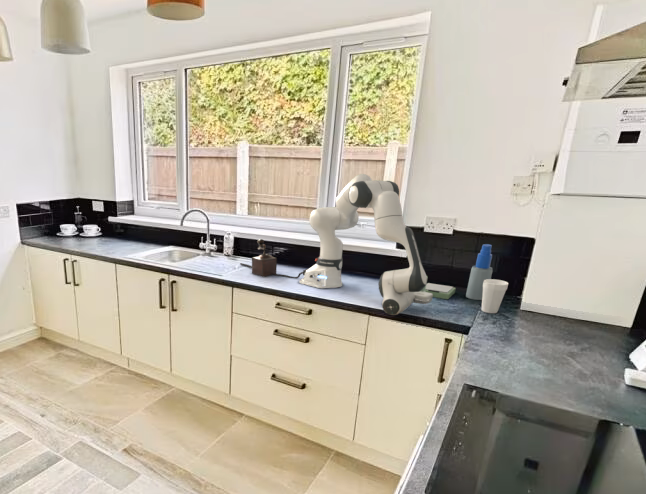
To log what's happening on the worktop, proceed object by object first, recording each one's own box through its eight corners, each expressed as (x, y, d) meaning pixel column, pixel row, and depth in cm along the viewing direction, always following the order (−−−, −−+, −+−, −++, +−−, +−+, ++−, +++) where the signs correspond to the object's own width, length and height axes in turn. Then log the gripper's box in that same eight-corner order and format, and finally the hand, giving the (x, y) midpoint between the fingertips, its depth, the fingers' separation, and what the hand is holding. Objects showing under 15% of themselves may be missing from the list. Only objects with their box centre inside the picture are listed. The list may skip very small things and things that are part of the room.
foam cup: (499, 308, 203) (506, 280, 198) (503, 315, 195) (510, 285, 190) (476, 306, 206) (482, 278, 200) (478, 312, 198) (485, 283, 192)
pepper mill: (277, 274, 259) (279, 242, 252) (262, 277, 253) (263, 244, 246) (260, 269, 270) (261, 238, 263) (245, 271, 264) (246, 240, 257)
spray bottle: (469, 293, 225) (480, 242, 215) (488, 297, 219) (500, 244, 209) (463, 297, 219) (473, 244, 209) (482, 301, 213) (494, 247, 203)
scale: (417, 294, 223) (418, 288, 222) (425, 288, 234) (426, 282, 232) (447, 299, 216) (448, 293, 214) (454, 292, 226) (456, 286, 225)
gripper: (429, 295, 190) (438, 287, 201) (381, 287, 201) (392, 280, 212) (426, 309, 193) (435, 301, 203) (379, 300, 204) (390, 293, 214)
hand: (413, 290), depth 207 cm, fingers open, 8 cm apart
